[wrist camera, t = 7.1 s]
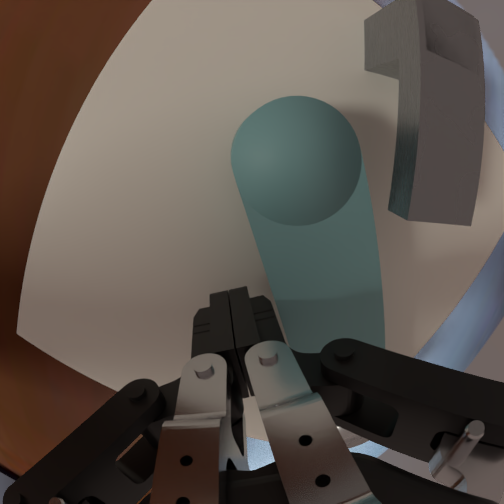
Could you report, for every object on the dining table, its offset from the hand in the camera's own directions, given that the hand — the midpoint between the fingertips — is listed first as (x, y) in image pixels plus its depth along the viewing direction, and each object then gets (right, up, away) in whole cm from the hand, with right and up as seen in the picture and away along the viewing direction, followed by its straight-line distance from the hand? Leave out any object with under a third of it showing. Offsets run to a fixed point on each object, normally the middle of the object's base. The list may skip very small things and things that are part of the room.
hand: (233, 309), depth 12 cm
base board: (+2, +2, +2) cm, 4 cm away
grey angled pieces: (+6, +2, +1) cm, 7 cm away
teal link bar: (+4, 0, +1) cm, 4 cm away
